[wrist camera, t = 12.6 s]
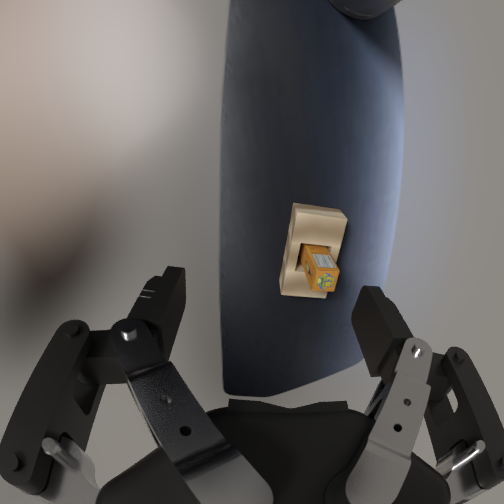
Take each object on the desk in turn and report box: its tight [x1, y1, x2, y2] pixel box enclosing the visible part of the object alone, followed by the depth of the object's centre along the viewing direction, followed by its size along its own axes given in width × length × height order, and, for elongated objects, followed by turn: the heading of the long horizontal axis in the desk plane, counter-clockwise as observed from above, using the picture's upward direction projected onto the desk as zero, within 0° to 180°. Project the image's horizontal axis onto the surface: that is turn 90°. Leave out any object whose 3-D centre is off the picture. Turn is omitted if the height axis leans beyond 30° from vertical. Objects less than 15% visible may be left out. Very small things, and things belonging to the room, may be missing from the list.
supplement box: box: [299, 243, 340, 292], centre depth 38 cm, size 3×3×10 cm
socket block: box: [279, 203, 347, 298], centre depth 40 cm, size 13×7×4 cm, turn 174°
